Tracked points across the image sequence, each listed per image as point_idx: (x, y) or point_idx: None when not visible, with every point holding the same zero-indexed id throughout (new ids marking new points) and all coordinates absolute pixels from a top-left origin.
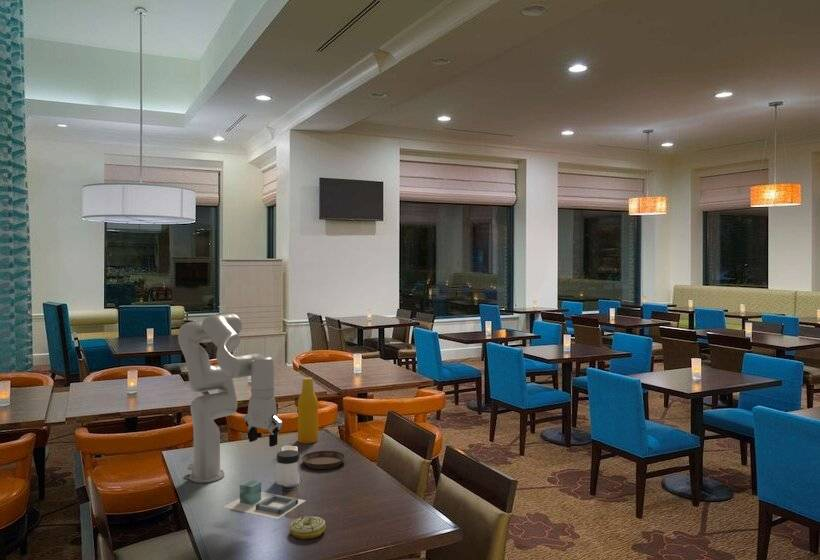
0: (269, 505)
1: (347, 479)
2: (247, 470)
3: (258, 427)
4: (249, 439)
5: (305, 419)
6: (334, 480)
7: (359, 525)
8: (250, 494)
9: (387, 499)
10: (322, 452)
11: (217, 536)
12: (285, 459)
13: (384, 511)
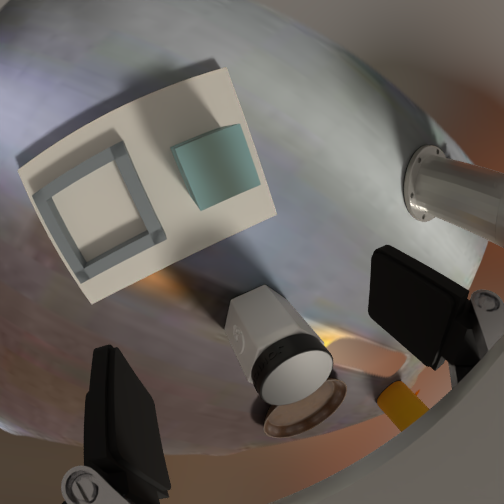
0: (121, 194)
1: (190, 417)
2: None
3: (358, 475)
4: (395, 252)
5: (410, 415)
6: (203, 400)
7: None
8: (178, 145)
9: (52, 418)
10: (331, 410)
11: (81, 2)
12: (270, 360)
13: (3, 388)
